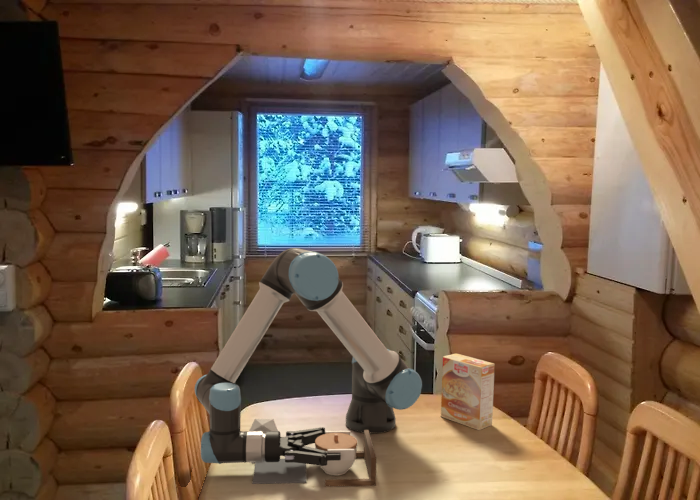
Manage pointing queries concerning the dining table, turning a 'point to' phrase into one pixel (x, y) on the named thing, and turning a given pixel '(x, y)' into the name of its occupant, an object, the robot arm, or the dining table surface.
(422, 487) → the dining table surface
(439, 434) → the dining table surface
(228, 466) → the dining table surface
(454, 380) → the coffeecake box
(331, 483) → the shelf lane
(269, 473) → the pad
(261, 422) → the die
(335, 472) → the lidded jar
